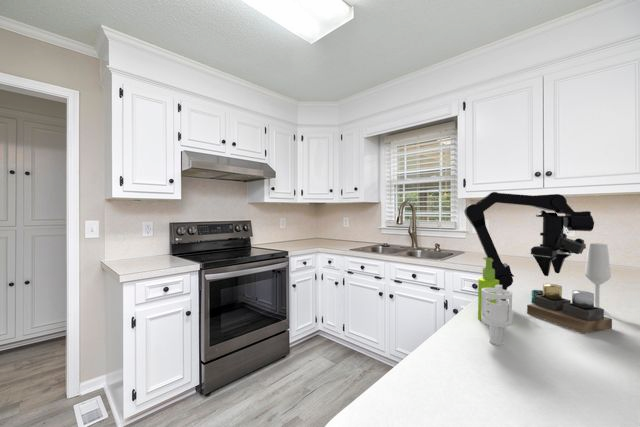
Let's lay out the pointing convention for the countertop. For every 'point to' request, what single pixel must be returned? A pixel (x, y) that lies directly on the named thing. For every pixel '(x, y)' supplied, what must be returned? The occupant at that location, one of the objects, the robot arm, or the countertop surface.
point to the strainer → (496, 312)
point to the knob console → (569, 314)
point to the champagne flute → (598, 268)
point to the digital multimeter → (536, 294)
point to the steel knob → (583, 299)
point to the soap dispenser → (486, 283)
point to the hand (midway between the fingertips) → (551, 274)
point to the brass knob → (552, 291)
